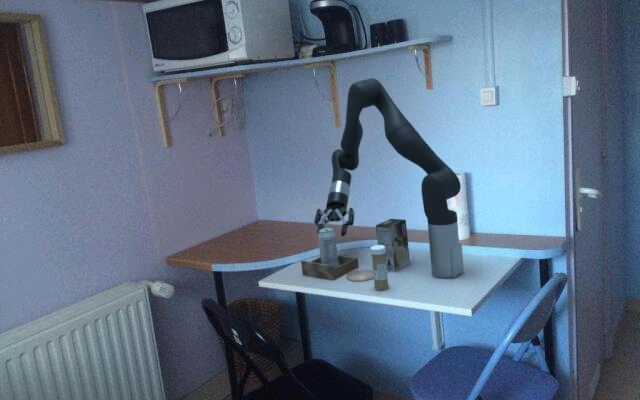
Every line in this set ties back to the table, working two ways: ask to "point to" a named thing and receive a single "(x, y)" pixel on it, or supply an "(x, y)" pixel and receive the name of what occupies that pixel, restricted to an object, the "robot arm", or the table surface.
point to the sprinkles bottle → (379, 267)
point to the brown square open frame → (329, 268)
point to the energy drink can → (328, 247)
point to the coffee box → (394, 243)
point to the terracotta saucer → (360, 275)
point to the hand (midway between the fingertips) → (331, 235)
